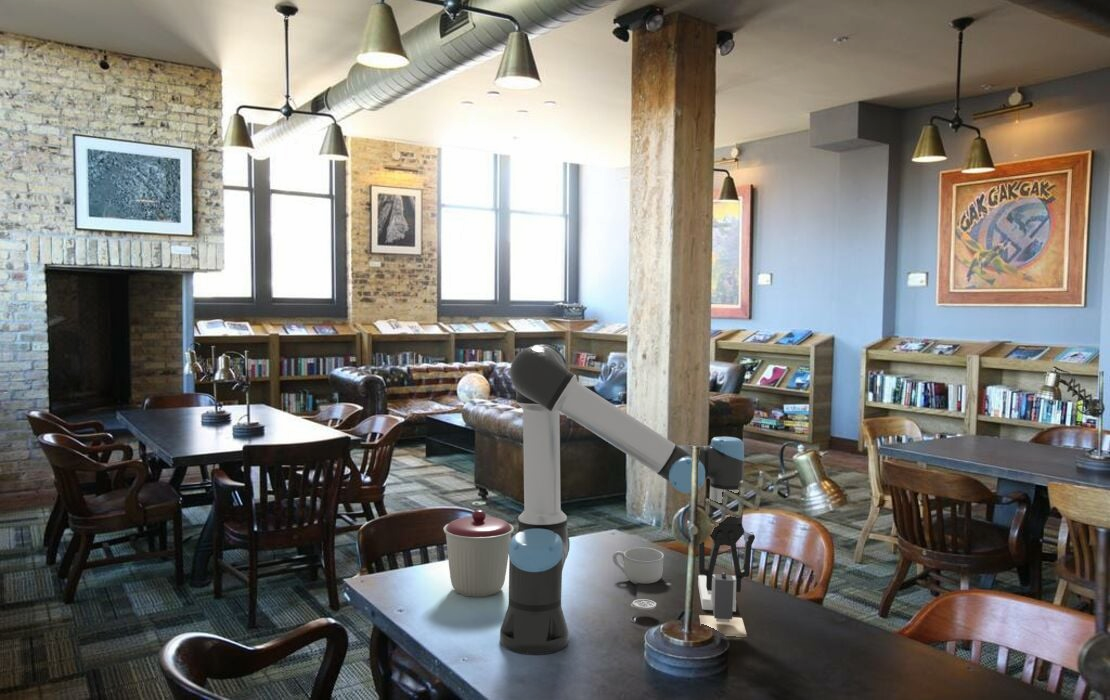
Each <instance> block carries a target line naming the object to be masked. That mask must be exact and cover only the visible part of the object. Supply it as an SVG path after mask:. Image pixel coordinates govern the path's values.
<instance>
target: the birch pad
mask: <svg viewBox="0 0 1110 700" xmlns="http://www.w3.org/2000/svg"><path fill="white" fill-rule="evenodd" d="M698 616H699V623H700V625H701V624H704V625H707V626H709V627H711V628H714V629H715V630H717V631H719V632H720V633H722V634H724V635H725V636H736V637H747V638H748V635H747V631H746V627H745V624H744V623H745V622H744V620H743V618H742V617H734V616H732V619H730V622H716V618H714V615H707V614H706V615H705V614H704V615H702V614H699V615H698Z"/></svg>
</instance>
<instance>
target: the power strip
mask: <svg viewBox="0 0 1110 700" xmlns="http://www.w3.org/2000/svg"><path fill="white" fill-rule="evenodd" d="M697 577H698V578H697V579H698V580H697V585H698V590H699V597H700V602H701V603H700V604H701V609H702V610H705V611H707V610H708V611H713V606H711V591H708V590H707V588H706V576H705V575H703V574H699V575H698V576H697ZM732 612H735V613H736V612H737V607H736V608H735V607H733V611H732Z"/></svg>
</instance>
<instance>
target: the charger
mask: <svg viewBox="0 0 1110 700" xmlns="http://www.w3.org/2000/svg"><path fill="white" fill-rule="evenodd" d="M713 575H715V578H716V579H715V606H713V610H712V613H713V616H714V618H716V622H730V619H732V617H733V612H734V611H733V578H732V576H733V575H731V574H727V573H726V572H721V574H720V573H719V574H717V573H713Z"/></svg>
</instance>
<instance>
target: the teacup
mask: <svg viewBox="0 0 1110 700" xmlns="http://www.w3.org/2000/svg"><path fill="white" fill-rule="evenodd" d="M618 555H619V556H621V557H622V560H623V564H621V563H620V561H618V558H617V556H618ZM664 558H665V555H664V553H663V552H662V551H660V550H658V549H655V548H651V547H633V548H632V547H631V548H629V549H627V550H625V551H622V550H617V551H615V552H614V553H613V555H612V561H613V563H614V565H615V566H617V568H619V569H620V570H621V571H622V573H624V575H625V577H626V579H627V580H629V581H630V583H632V584H634V585H636V586H637V585H638V584H642V585H643V584H645V585H646V584H654V583H657V582H658V581H660V580H661V578H662V576H663V571H664Z"/></svg>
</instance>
